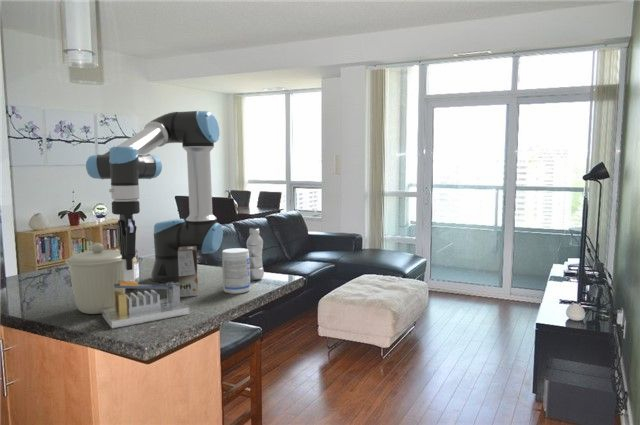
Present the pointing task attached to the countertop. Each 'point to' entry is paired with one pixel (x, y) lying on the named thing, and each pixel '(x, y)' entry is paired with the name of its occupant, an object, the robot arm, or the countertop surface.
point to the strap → (140, 285)
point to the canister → (95, 278)
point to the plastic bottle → (255, 254)
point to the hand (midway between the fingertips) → (128, 280)
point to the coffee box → (188, 271)
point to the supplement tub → (236, 270)
